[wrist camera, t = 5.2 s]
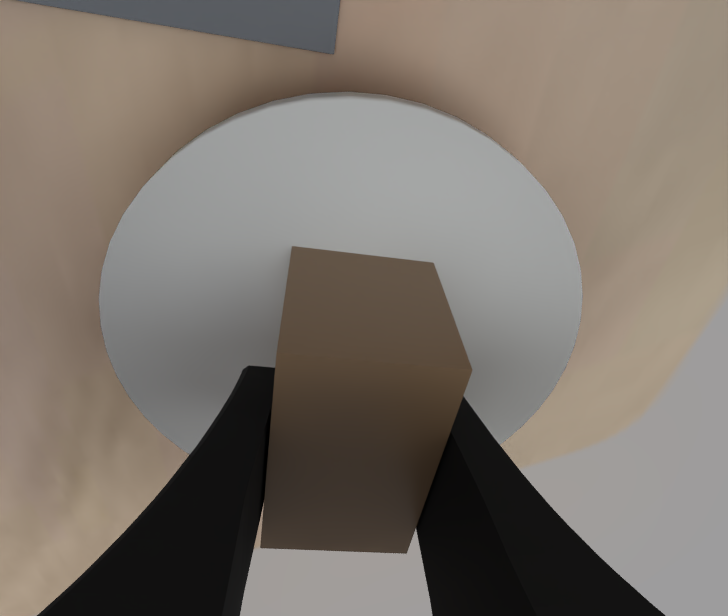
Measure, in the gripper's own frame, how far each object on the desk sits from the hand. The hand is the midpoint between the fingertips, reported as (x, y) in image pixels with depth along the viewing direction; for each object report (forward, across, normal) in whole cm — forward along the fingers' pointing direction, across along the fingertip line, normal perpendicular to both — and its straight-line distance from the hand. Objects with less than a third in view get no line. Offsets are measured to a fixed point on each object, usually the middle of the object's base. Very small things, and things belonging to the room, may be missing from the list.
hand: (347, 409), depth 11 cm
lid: (+2, 0, 0) cm, 2 cm away
